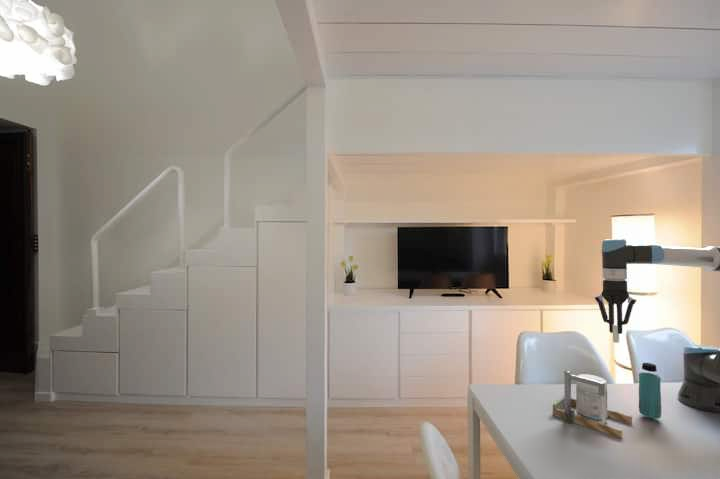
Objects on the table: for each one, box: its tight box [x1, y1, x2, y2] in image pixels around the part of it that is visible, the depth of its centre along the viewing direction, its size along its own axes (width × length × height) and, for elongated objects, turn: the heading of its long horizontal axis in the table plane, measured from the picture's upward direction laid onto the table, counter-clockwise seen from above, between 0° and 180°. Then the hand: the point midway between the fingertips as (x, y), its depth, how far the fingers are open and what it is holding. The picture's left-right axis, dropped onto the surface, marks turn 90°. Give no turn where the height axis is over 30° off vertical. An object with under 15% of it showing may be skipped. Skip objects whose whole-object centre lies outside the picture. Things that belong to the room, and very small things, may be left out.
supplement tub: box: [575, 373, 608, 424], centre depth 128 cm, size 10×10×15 cm
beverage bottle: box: [637, 362, 662, 420], centre depth 129 cm, size 6×7×20 cm
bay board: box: [552, 395, 633, 439], centre depth 128 cm, size 21×15×4 cm
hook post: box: [563, 370, 605, 424], centre depth 122 cm, size 12×2×18 cm, turn 42°
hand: (616, 341), depth 133 cm, fingers closed
